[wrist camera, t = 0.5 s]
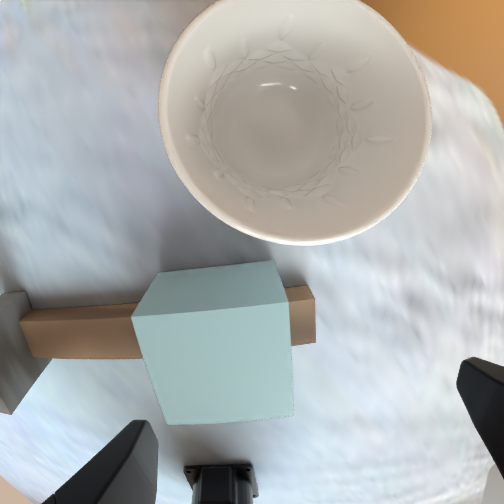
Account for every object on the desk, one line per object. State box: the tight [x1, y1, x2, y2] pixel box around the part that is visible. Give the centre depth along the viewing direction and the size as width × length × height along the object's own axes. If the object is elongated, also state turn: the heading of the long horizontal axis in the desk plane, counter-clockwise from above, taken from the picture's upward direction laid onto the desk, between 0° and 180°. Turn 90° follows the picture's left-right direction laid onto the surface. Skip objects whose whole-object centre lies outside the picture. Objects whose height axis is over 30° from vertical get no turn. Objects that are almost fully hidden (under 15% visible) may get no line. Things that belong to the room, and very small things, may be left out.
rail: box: [0, 285, 316, 415], centre depth 17 cm, size 6×22×7 cm, turn 96°
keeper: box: [131, 260, 294, 425], centre depth 17 cm, size 7×7×6 cm
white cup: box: [158, 0, 432, 246], centre depth 13 cm, size 8×8×10 cm
